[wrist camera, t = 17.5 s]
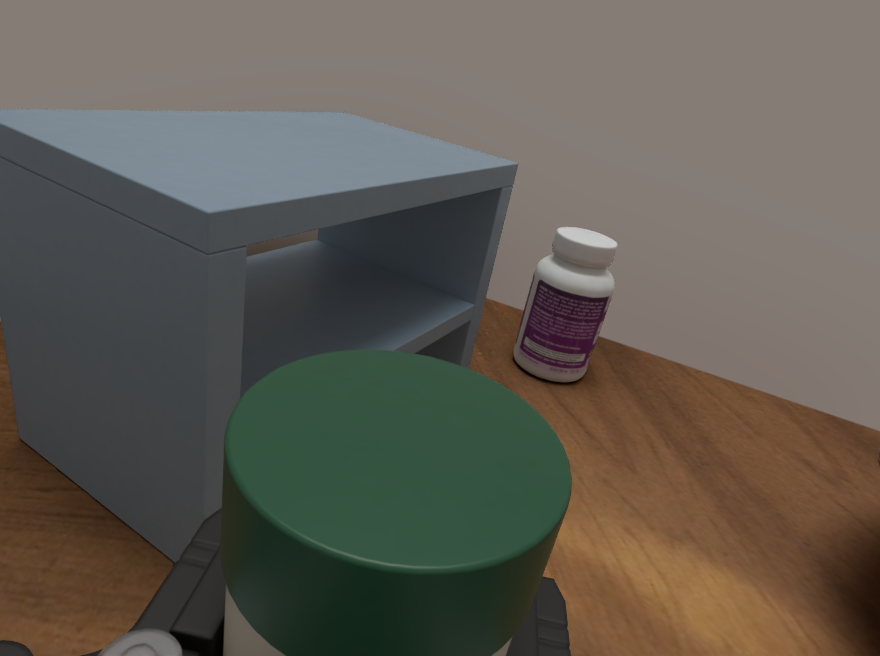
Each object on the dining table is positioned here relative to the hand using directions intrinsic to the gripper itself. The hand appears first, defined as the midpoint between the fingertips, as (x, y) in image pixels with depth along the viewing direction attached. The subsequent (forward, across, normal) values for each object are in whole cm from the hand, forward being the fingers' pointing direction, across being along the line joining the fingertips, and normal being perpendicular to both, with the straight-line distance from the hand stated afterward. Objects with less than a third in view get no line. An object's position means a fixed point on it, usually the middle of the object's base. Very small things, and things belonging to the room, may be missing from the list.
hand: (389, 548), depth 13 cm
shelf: (+17, -8, -9) cm, 20 cm away
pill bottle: (+28, +8, -9) cm, 31 cm away
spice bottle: (-3, 0, -6) cm, 7 cm away
